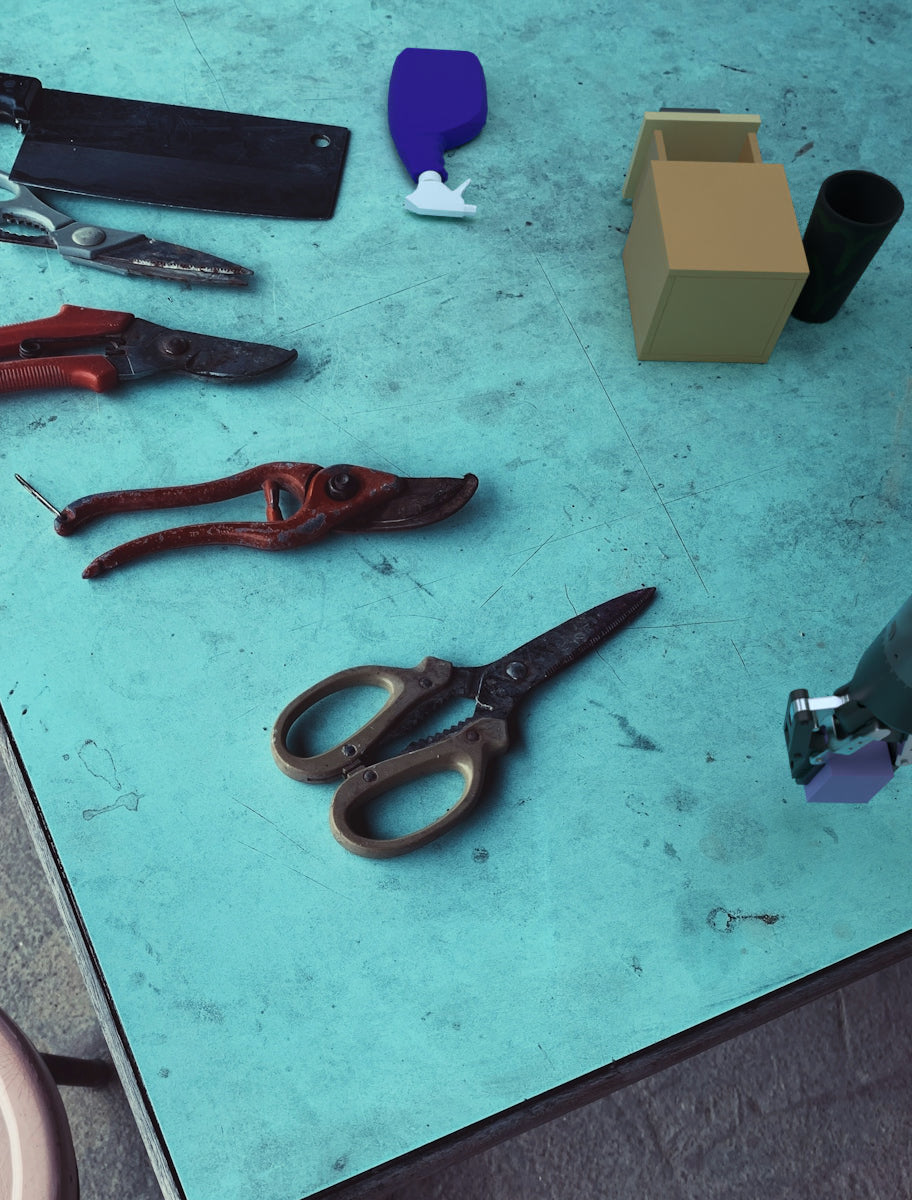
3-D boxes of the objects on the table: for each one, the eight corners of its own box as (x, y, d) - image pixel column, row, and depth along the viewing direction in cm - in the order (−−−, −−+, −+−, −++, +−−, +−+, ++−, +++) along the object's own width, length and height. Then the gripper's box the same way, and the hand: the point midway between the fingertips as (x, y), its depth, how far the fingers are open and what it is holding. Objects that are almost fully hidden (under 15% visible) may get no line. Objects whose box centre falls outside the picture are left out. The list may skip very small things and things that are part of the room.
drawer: (617, 163, 127) (639, 83, 119) (723, 166, 127) (753, 86, 119) (635, 282, 119) (660, 204, 111) (748, 285, 119) (782, 208, 112)
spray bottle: (390, 44, 132) (385, 197, 121) (489, 49, 132) (492, 203, 121) (388, 70, 134) (382, 222, 124) (485, 75, 134) (487, 228, 124)
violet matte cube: (855, 749, 90) (882, 720, 86) (867, 804, 88) (895, 776, 84) (796, 748, 90) (820, 719, 86) (806, 802, 88) (831, 775, 84)
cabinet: (622, 255, 122) (650, 159, 113) (744, 258, 122) (783, 163, 113) (637, 360, 116) (669, 269, 106) (766, 363, 116) (810, 272, 107)
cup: (808, 266, 122) (859, 158, 111) (864, 310, 120) (922, 204, 109) (755, 296, 120) (802, 189, 109) (811, 342, 117) (865, 237, 107)
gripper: (843, 700, 72) (744, 818, 87) (1079, 705, 72) (939, 822, 87) (821, 596, 75) (730, 728, 90) (1047, 601, 75) (918, 731, 90)
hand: (833, 773), depth 89 cm, fingers closed on violet matte cube, 4 cm apart
